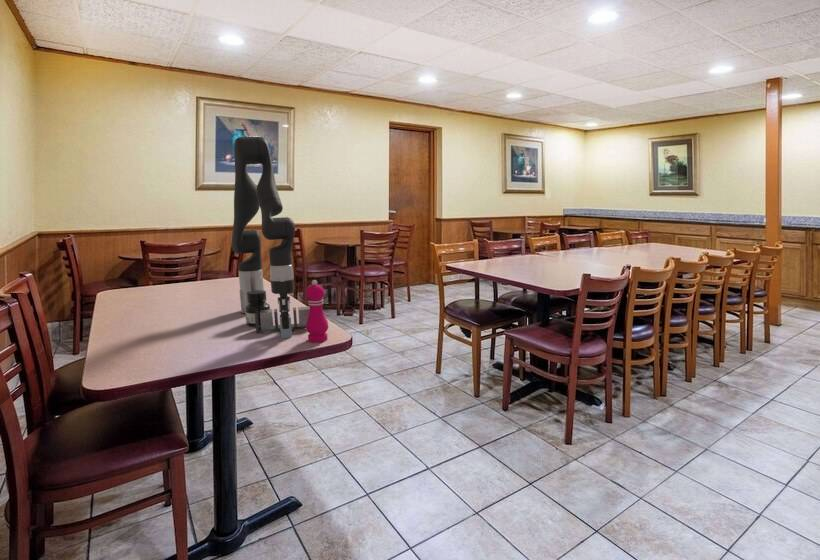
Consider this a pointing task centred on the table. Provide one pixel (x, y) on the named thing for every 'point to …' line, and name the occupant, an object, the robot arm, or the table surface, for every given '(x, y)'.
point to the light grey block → (286, 332)
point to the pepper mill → (316, 314)
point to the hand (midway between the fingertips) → (285, 325)
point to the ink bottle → (255, 305)
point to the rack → (267, 320)
